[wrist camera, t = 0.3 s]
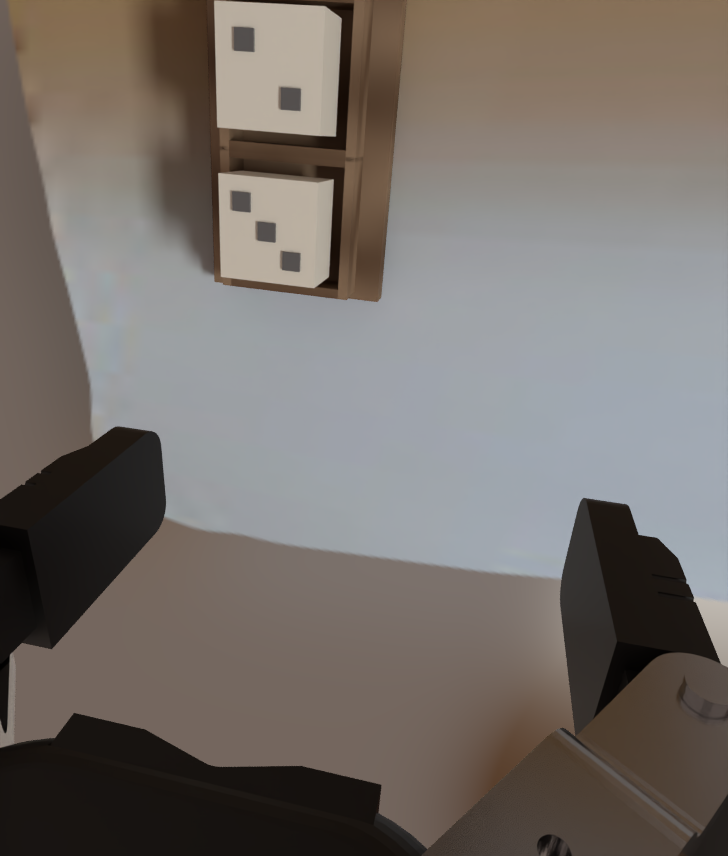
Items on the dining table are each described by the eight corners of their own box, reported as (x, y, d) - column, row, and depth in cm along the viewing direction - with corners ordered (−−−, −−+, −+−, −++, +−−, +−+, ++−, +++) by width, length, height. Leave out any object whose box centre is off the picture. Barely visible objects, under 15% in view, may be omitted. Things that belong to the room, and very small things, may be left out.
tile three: (241, 170, 33) (216, 173, 30) (333, 179, 32) (317, 182, 29) (242, 266, 35) (219, 277, 32) (328, 276, 34) (313, 288, 32)
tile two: (240, 13, 30) (212, -1, 27) (341, 18, 29) (324, 5, 26) (241, 128, 32) (215, 127, 29) (335, 136, 31) (319, 135, 29)
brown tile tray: (211, -193, 29) (180, -229, 27) (423, -193, 28) (413, -231, 25) (222, 277, 39) (200, 288, 36) (381, 297, 37) (370, 310, 34)
